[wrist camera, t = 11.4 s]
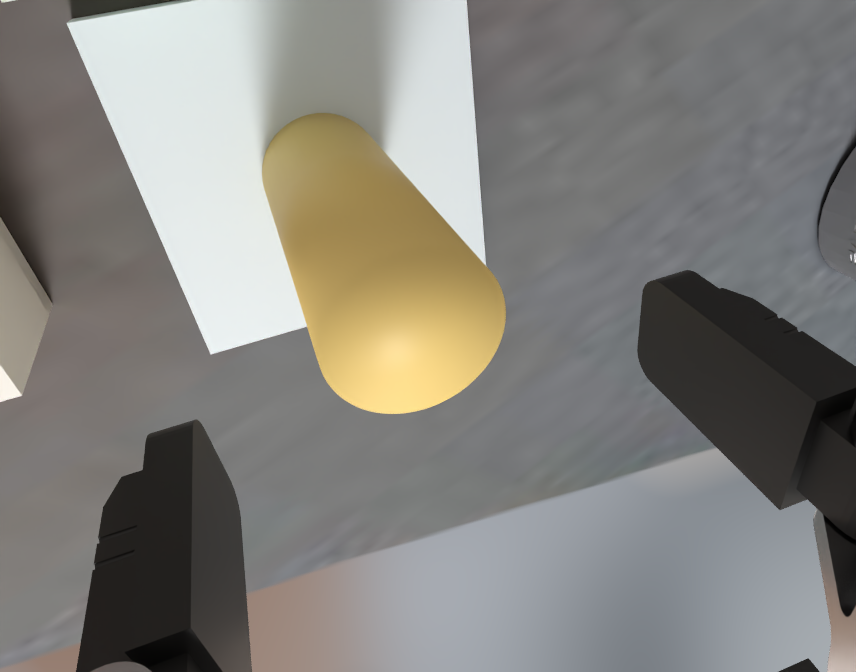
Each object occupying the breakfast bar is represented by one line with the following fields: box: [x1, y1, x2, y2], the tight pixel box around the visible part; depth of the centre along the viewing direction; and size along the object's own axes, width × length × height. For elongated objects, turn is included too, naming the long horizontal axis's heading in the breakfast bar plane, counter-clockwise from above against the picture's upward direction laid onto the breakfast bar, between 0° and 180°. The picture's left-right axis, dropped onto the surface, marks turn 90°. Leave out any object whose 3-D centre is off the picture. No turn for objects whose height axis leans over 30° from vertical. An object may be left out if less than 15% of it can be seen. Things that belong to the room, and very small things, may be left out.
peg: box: [262, 113, 506, 414], centre depth 14 cm, size 4×4×9 cm
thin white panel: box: [67, 0, 486, 354], centre depth 18 cm, size 10×10×1 cm
